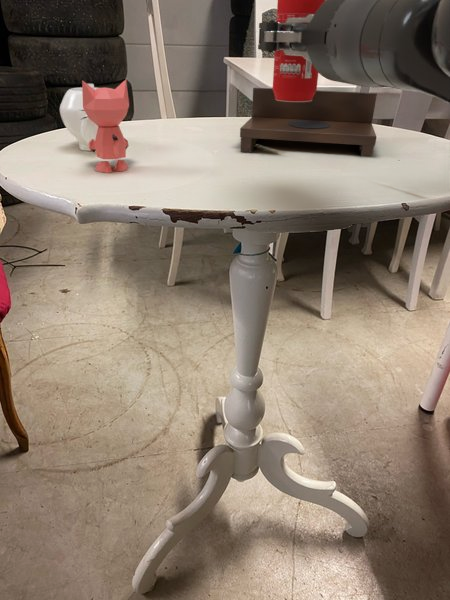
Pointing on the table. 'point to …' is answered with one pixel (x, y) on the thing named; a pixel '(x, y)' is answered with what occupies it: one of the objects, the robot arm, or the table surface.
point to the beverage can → (294, 58)
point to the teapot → (78, 117)
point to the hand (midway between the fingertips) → (289, 36)
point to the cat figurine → (107, 123)
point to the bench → (312, 119)
